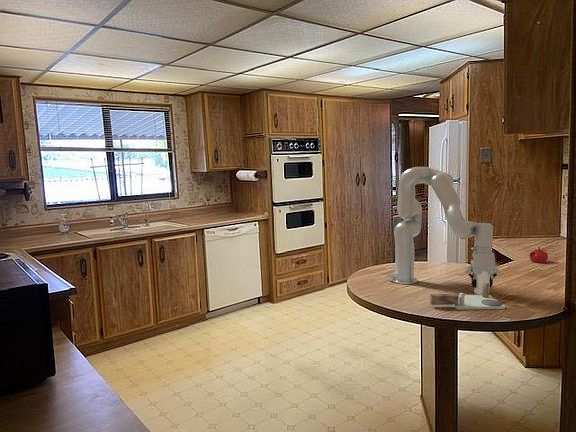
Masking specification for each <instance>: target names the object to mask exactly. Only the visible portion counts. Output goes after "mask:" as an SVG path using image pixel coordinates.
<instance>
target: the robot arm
mask: <svg viewBox="0 0 576 432" xmlns="http://www.w3.org/2000/svg"><path fill="white" fill-rule="evenodd" d="M454 183H455V182H454V178H453V175H452V174H450V173H448V172H445V171H442V170H438V169H435V168H431V167H428V166H414V167H410V168H408V169H406V170H404V172H402V173H401V174H400V177H399V178H398V186H397V188H398V194H397V208H396V209H397V210H396V211H397V215H398V216H399V218H401V219H403V221H400V222H398V223H397V224H396V225H395V227H394V228H393V229H394V230H393V236H394V237H393V238H394V244H395V248H394V251H395V252H394V253H395V255H394V256H395V260H394V263H395V265H394V269H395V270H394V271H393V272H392V273H386V274H385V277H386V278H389V279H391V281H392V282H393V283H396V284H399V285H412V284H416V283H417V282H418V279H417V277H415V243H414V242H415V241H414V238H415V237H417V236H418V235H419V234H420V232H421V229H422V221H423V220H422V219H423V218H422V217H423V214H422V213H423V208H422V204H421V203H420V201H419V200H417V199H416V185H420V184H424V185H428V186H431V188H432V190H433V192H434V193H435V195H436V197H437V199H438V200H439V202H440V205H441V206H442V208H443V210H444V215H445V218H446V222H447V223H448V225H449V227H450V229H451V232H452V233H453V234H454V235H455V236H456V237H457V238H458V239H460V240H467V239H469V238H472V237H474V245H473V247H471V250H472V254H471V259H470V266H469V267H468V268H467V269H465V270H464V271H465V273H466V274H467V275H468V276H469V278H471V286H472V288H473V289H474V288H476V284H477V280H476V277H477V275H480V274H482V272H488V274H490V286H489V289H491V288H493V287H492V286H493V283H494V282H493V281H494V279H495V278H496V277H497V275H499V274H500V273H501V270H500V269H499V268H497V267H496V257H495V252H493V240H494V239H493V238H494V237H493V235H494V234H493V233H494V232H493V231H494V225H493V224H492V223H489V222H475V221H470V220H468V221H467V220H466V219H465V218H464V216H463V213H462V210H461V198H460V197H459V194H458V193H457V192H456V189H455V188H454Z"/></svg>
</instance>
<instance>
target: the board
mask: <svg viewBox="0 0 576 432" xmlns="http://www.w3.org/2000/svg"><path fill="white" fill-rule="evenodd" d="M458 295H459V304H458V305H452V306H453V307H454V308H455V310H506V305H504V304H503V303H502V302H501V301H499V300H497V299H496V298H495V297H493V296H492V295H490V287H489V284H488V283H483V287H482V295H478V294H465V292H460V293H459V294H458Z"/></svg>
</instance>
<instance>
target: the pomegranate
mask: <svg viewBox="0 0 576 432" xmlns="http://www.w3.org/2000/svg"><path fill="white" fill-rule="evenodd" d="M548 254H549V253H548V252H547V251H545V249H544V248H542V249H541V247H540V246H538V249H537V248H535V249H532V250H531V252H530V253H529V255H528V256H529V260H530V262H532V263H536V264H544V263H546V262H548V258H549V255H548Z"/></svg>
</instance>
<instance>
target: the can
mask: <svg viewBox="0 0 576 432" xmlns="http://www.w3.org/2000/svg"><path fill="white" fill-rule="evenodd" d="M476 280H477V284H476V288H474V287H473V292H474V294H475V295H482V287H483V283H488V284H489V286H490V274H488V272H482V274H480V275H477V277H476Z"/></svg>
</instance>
